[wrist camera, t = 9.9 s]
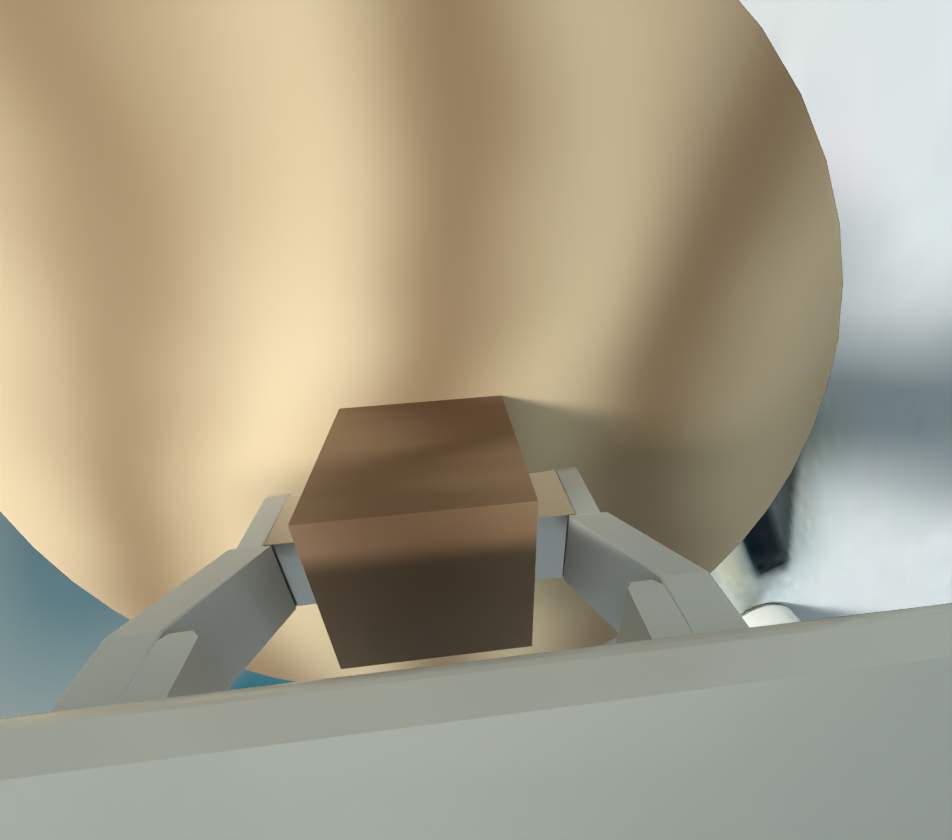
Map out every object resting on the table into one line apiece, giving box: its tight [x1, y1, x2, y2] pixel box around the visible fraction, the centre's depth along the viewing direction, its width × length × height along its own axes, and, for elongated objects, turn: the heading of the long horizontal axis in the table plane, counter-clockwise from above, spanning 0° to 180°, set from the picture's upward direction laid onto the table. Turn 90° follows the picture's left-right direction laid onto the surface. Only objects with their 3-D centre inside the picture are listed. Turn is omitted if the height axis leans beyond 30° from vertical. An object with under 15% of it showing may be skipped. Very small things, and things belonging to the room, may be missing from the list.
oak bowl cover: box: [0, 0, 843, 682], centre depth 9 cm, size 22×22×5 cm
